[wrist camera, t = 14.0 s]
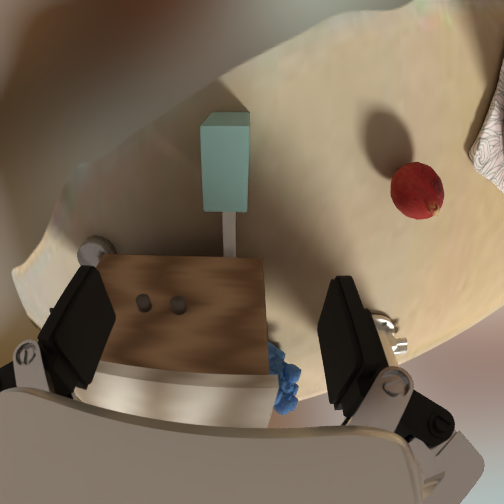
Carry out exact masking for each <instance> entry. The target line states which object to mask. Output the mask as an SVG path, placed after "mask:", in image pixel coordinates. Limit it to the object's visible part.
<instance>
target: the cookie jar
mask: <svg viewBox="0 0 504 504" xmlns="http://www.w3.org/2000/svg"><path fill="white" fill-rule="evenodd" d="M469 157H470V159H471V161H472V163H473V165H474V168H475V170H476V171H477V172H478V173H479V174H481V175H483V176H484V177H485V178H487V179H488V180H490V181H492V182H493V183H494V184H495V186H496V187H497V188H498V189H500V190H501V191H502V192H503V193H504V59H503V63H502V67H501V70H500V76H499V81H498V84H497V88H496V91H495V94H494V97H493V99H492V101H491V104H490V107H489V110H488V113H487V116H486V118H485V121H484V123H483V126H482V128H481V130H480V132H479V134H478V136H477V139H476V140H475V142H474V144H473V145H472V147H471V149H470V151H469Z"/></svg>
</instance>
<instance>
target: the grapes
mask: <svg viewBox="0 0 504 504" xmlns="http://www.w3.org/2000/svg"><path fill="white" fill-rule="evenodd" d="M268 357H269V375H278V384H279V389H278V392H277V396H276V399H275V403H274V406H273V409H274V410H275V411H277V412H278V413H279V414H282V415H285V414H287V413H288V412H289V411H293V410H294V409H295V408H296V405H297V402H298V399H297V398H296V397H295V395H296V393H297V391H298V387H299V386H298V385H297V384H296V382H297V381H298V380H299V377H300V374H301V369H299V368H298V367H297V366H296V365H293V364H287V363H286V362H284V358H285V353H284V352H283V351H281V350H280V349H278V348H277V347H276V346H274V345H273V344H272V343H270V342H268Z"/></svg>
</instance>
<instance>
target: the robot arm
mask: <svg viewBox="0 0 504 504" xmlns="http://www.w3.org/2000/svg"><path fill="white" fill-rule="evenodd" d="M115 320H116V314H115V311H114V309H113V307H112V304H111V302H110V299H109V297H108V294H107V291H106V289H105V286H104V283H103V281H102V278H101V275H100V272H99V271H98V270H96V268H95V267H94V266H89V265H82V266H80V268H79V269H78V271H77V272H76V274H75V275H74V277H73V278H72V280H71V281H70V283H69V284H68V286H67V287H66V289H65V290H64V292H63V294H62V295H61V297H60V299H59V300H58V302H57V303H56V305H55V307H54V308H53V310H52V312H51V314H50V315H49V317H48V319H47V321H46V322H45V324H44V326H43V328H42V330H41V331H40V333H39V335H38V339H39V341H38V343H37V342H35V341H34V340H26V341H23V342H22V343H20V344H19V345H18V346H17V348H16V349H15V351H14V354H13V361H12V362H10V363H9V364H7V365H5V366H3V367H1V368H0V504H460V503H461V501H462V500H463V499H464V498H465V497H466V495H467V494H468V493H469V491H470V490H471V489H472V487H473V486H474V485H475V484H476V482H477V481H478V479H479V478H480V477H481V475H482V473H483V471H484V460H483V458H482V456H481V455H480V454H479V453H478V452H477V450H476V449H475V448H474V447H473V446H472V444H471V443H470V442H469V441H468V440H467V439H466V438H465V436H464V435H463V434H462V433H461V432H460V431H458V432H456V431H455V429H454V428H455V422H454V419H453V416H452V415H451V413H450V412H448V411H447V410H446V409H444V408H443V407H441V406H439V405H438V404H436V403H435V402H433V401H431V400H430V399H428V398H426V397H425V396H423V395H421V394H420V393H418V392H416V391H415V390H414V389H413V388H414V384H413V380H412V377H411V376H410V375H409V373H408V372H407V371H406V370H404V369H403V368H400V367H399V366H398V363H397V360H396V357H395V355H399V354H405V353H406V352H407V345H406V344H407V339H406V338H399V339H396V338H394V336H393V335H394V325H393V323H392V321H391V320H390V319H389V318H388V317H386V316H383V315H376V314H373V315H371V312H370V311H369V310H368V309H364V308H363V305H362V302H361V299H360V297H359V294H358V291H357V289H356V286H355V283H354V281H353V278H352V277H351V276H336V278H335V279H332V280H331V282H330V285H329V289H328V292H327V296H326V299H325V303H324V306H323V309H322V313H321V316H320V319H319V322H318V328H317V331H318V337H319V343H320V349H321V354H322V360H323V366H324V372H325V378H326V384H327V390H328V397H329V402H330V404H334V408H335V410H342V409H343V415H344V416H345V419H344V420H343V422H342V423H341V425H340V426H320V427H304V428H235V427H218V426H206V425H196V424H187V423H179V422H171V421H165V420H158V419H153V418H147V417H142V416H137V415H132V414H127V413H122V412H118V411H114V410H109V409H105V408H102V407H98V406H94V405H91V404H87V403H84V402H80V401H78V400H77V397H76V395H75V392H74V389H75V387H77V388H81V389H84V390H87V387H88V384H91V383H92V381H93V378H94V375H95V372H96V369H97V367H98V364H99V361H100V359H101V356H102V353H103V351H104V348H105V346H106V343H107V340H108V338H109V335H110V333H111V331H112V328H113V326H114V323H115Z"/></svg>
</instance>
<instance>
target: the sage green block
mask: <svg viewBox="0 0 504 504" xmlns="http://www.w3.org/2000/svg"><path fill="white" fill-rule="evenodd" d="M200 139H201V168H202V190H203V209H204V212H222V220H223V255H224V257H236V212H247V201H248V169H249V139H250V112H212V113H211V114H210V115H209V116H208V118H207V119H206V120H205V121H204V122H203V124H202V125H201V126H200Z"/></svg>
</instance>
